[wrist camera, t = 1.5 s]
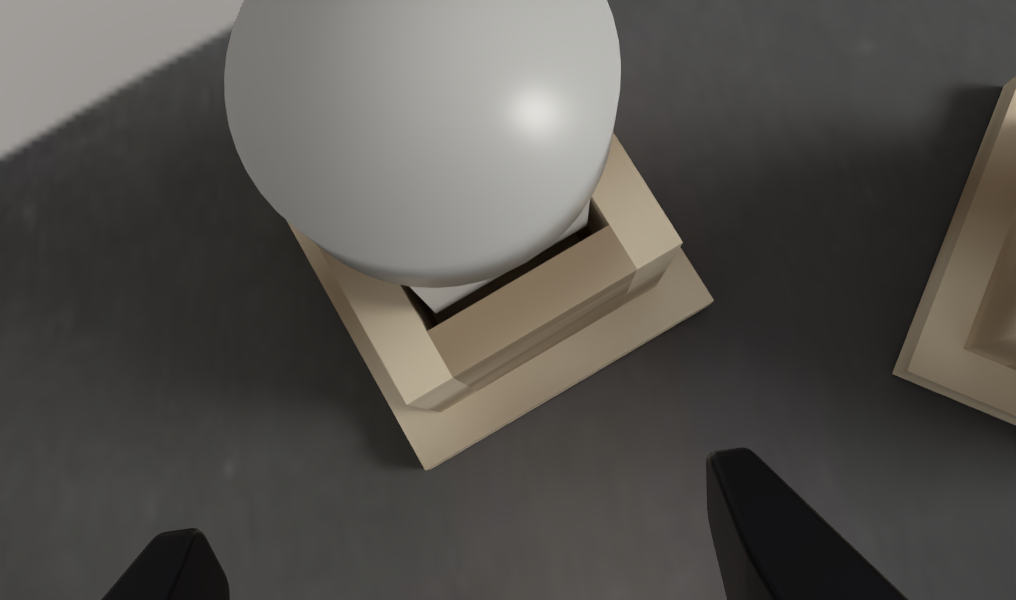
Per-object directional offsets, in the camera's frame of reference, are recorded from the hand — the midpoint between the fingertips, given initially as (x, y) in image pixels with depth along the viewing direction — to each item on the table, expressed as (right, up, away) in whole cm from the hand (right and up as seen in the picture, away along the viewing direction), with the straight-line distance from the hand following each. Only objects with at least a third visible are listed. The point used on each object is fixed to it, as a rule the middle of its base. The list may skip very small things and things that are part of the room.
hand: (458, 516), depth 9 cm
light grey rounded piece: (0, +4, +9) cm, 10 cm away
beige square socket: (0, +3, +14) cm, 15 cm away
